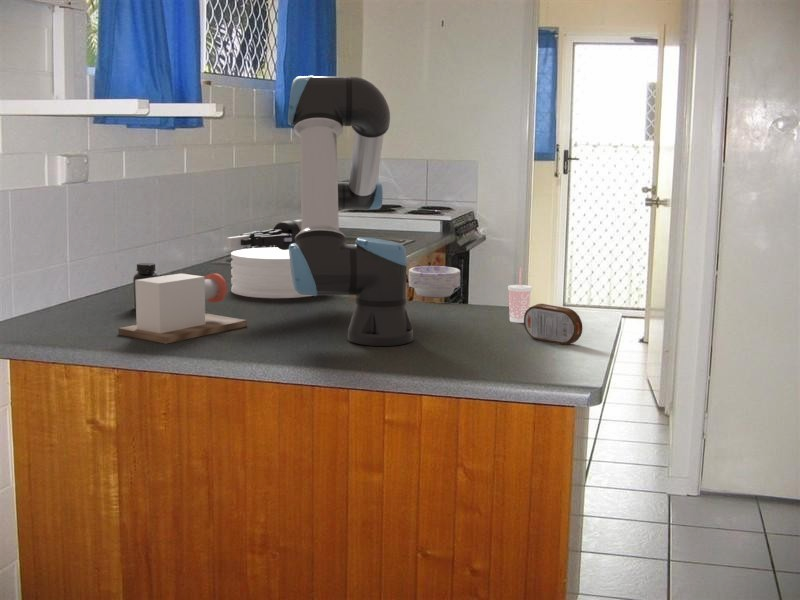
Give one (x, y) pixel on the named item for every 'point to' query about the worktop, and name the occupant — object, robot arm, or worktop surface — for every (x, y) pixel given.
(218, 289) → the plug
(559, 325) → the tin
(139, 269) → the supplement bottle
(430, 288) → the paper bowls
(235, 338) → the worktop surface
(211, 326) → the board
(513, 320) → the beverage cup
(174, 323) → the block
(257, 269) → the plate stack
